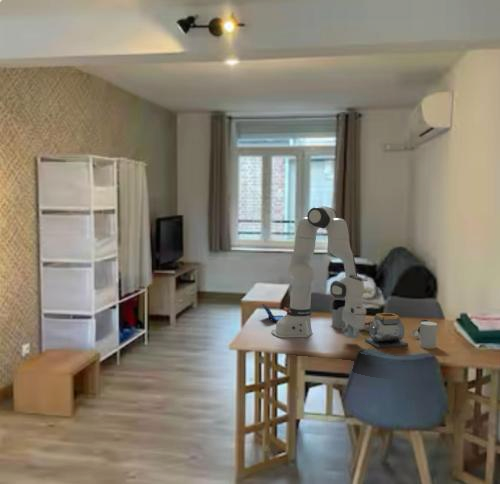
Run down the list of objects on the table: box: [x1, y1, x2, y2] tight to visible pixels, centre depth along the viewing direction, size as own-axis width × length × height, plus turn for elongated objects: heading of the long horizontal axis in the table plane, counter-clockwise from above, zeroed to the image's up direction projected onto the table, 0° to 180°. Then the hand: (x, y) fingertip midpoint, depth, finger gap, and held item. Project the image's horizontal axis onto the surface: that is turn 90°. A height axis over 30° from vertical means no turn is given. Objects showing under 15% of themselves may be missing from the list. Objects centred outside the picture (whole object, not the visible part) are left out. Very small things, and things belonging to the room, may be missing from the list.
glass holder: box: [329, 299, 347, 329], centre depth 320 cm, size 9×14×15 cm, turn 24°
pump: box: [341, 325, 360, 339], centre depth 283 cm, size 8×4×5 cm, turn 104°
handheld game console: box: [262, 303, 285, 324], centre depth 330 cm, size 16×13×9 cm
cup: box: [418, 321, 438, 350], centre depth 280 cm, size 8×8×12 cm
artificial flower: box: [411, 319, 429, 340], centre depth 303 cm, size 9×22×10 cm, turn 148°
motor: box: [364, 312, 409, 349], centre depth 284 cm, size 17×14×15 cm
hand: (351, 333), depth 283 cm, fingers closed on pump, 4 cm apart
